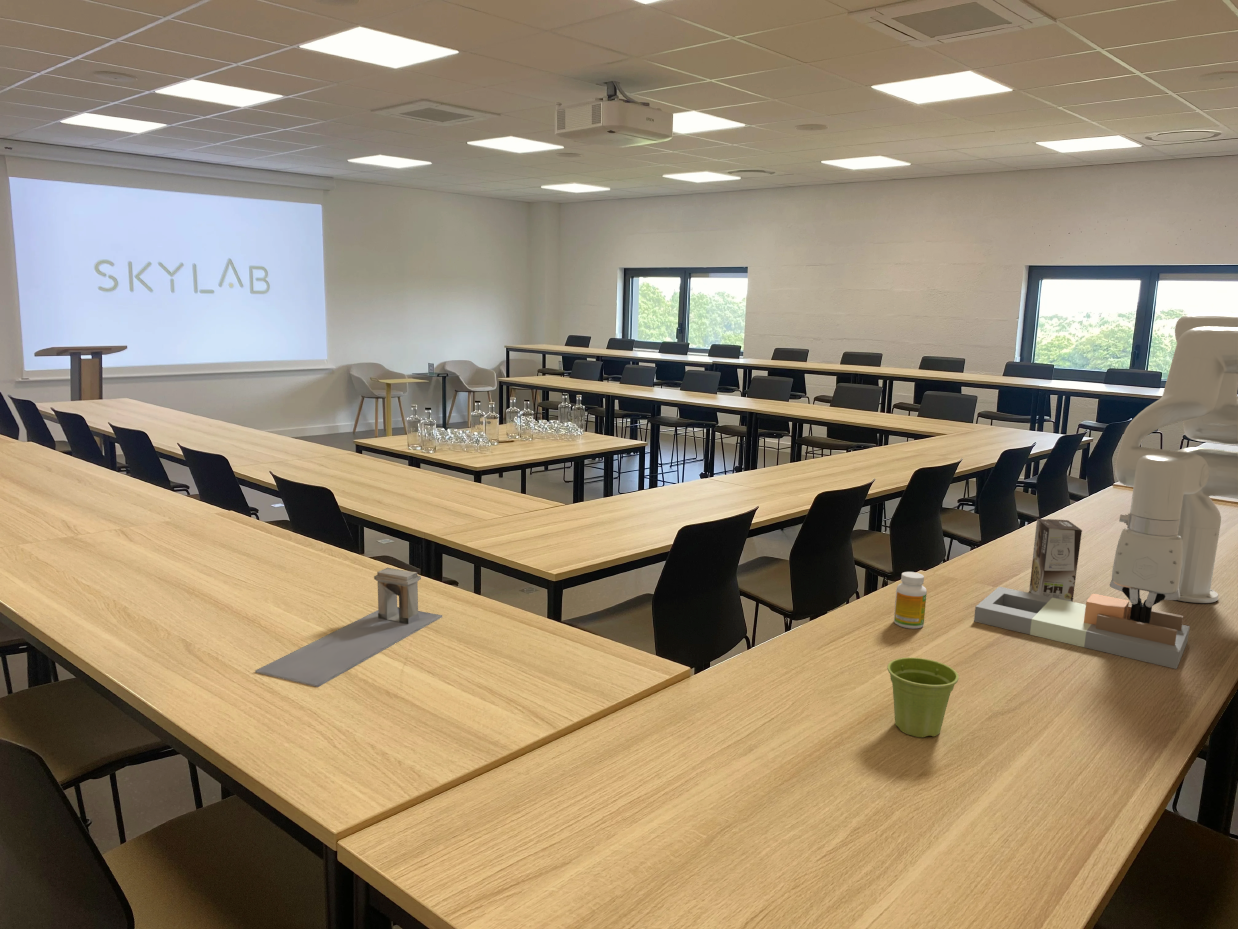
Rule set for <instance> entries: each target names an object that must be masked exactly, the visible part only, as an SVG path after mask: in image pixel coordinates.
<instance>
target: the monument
mask: <svg viewBox="0 0 1238 929" xmlns="http://www.w3.org/2000/svg"><path fill="white" fill-rule="evenodd" d="M421 578H422V577H421V575H418V572H416V571H411V570H404V569H399V568H392V567H385V568H384V569H381V570H379V571H377V573H376V574H375V575H374V576H373V580H375V581H377V605H378V606H377V607H378V609H377V610H375V611H373V612H371V613H369V614H367V615H365V616H364V617H361V618H359V619H357V620H355V621H353V622H350V623H349V624H346V625H345V626H342V627H341V628H338V629H337V630H335V631H333V632H330V633H328V634H327V635H325V636H322V637H321V638H318V639H316V640H314V641H312V642H310V643H308V644H306V645H304V646H302V647H299V649H295V650H294V651H291V652H290V653H288V654H286V655H284V656H281V657H279V658H278V659H275V660H273V661H272V662H269V663H268V664H265V665H263V666H261V667H260V668H257V669H255V670H254V672H255V673H258V674H260V675H265V676H268V677H269V676H270V677H272V678H273V677H274V678H277V679H278V678H279V679H282V680H285V681H286V680H287V681H289V682H294V683H299V684H304V685H307V686H312V687H316V688H319V687H322V686H323V685H324V684H326V683H328V682H330V681H332V680H333V679H335V678H337V677H339V676H340V675H342V674H344V673H346V672H348V671H349V670H351V669H353V668H355V667H357V666H358V665H359V664H360V665H361V664H362V663H363V662H365V661H367V660H369V659H370V658H372V657H374V656H376V655H378V654H380V653H381V652H383V651H384V650H386V649H388V648H390V647H392V646H394V645H395V643H396V644H398V643H399V642H401V641H403V640H404V639H406V638H408V637H409V636H411V635H414V634H415V633H417V632H418V631H421V630H422V629H424V628H425V627H428V626H429V625H431V624H432V623H434V622H437V621H438V620H440V619H442V618H443V614H437V613H432V612H427V611H426V612H425V611H421V610H419V593H418V592H419V591H418V590H419V589H418V588H419V587H418V582H419V581H420V580H421Z"/></svg>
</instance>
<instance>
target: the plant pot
mask: <svg viewBox="0 0 1238 929" xmlns="http://www.w3.org/2000/svg"><path fill="white" fill-rule="evenodd" d="M886 670H887V672H888V673H889V676H890V681H891V683H892V684H891V685H892V696H893V697H892V698H893V711H894V712H893V713H894V723H895V727H898V729H899V730H900V731H901V732H903V733H904V734H906V735H909V736H912V737H916V738H925V737H928V736H932V737H933V738H934V737H936V736H938V735H939V734H940V733H941V730H942V726H943V724H944V723H943V722H944V718H945V715H946V711H947V710H946V709H947V706H948V703H949V699H950V695H951V693H952V691H953V690H954V687H955V685H956V684H957V683H958V681H959V678H960V677H959V673H958V672H957V671H956V670H955V669H954V668H953V667H951V666H949V665H948V664H945V663H942V662H940V661H937V660H932V659H930V658H929V659H928V658H922V657H910V656H909V657H900V658H896V659H893V660H891V661H889V663H888V664H887V667H886Z"/></svg>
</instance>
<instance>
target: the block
mask: <svg viewBox="0 0 1238 929" xmlns="http://www.w3.org/2000/svg"><path fill="white" fill-rule="evenodd" d="M1129 603H1130V600H1129V599H1123V598H1118V597H1117V598H1116V597H1113V596H1108V595H1102V594H1099V593H1098V594H1097V593H1091V594H1090V596H1089V597H1088V598H1087V600H1086V601H1085V605H1086V608H1085V616H1084V623H1089V624H1093V625H1096V622H1097V615H1098V614H1104V615H1109V616H1113V617H1118V618H1123V619H1127V613H1128V606H1129V605H1130V604H1129Z"/></svg>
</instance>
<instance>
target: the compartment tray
mask: <svg viewBox="0 0 1238 929" xmlns="http://www.w3.org/2000/svg"><path fill="white" fill-rule="evenodd" d="M1131 606H1132V604H1129V606H1128V613H1127V619H1123V618H1118V617H1113V616H1109V615H1104V614H1098V615H1097V622H1096V625H1093V624H1089V623H1084V616H1085V608H1086V603H1080V602H1076V601H1075V602H1074V601H1073V602H1071V601H1066V600H1061V599H1056V598H1052V597H1047V596H1042V595H1037V594H1032V593H1031V592H1027V591H1022V590H1017V589H1012V588H1007V587H1003V586H998V587H997V588H995V589H994V590H993V591H992V592H991V593H990V594H988V595H987V596H986V597H984V599H982V600H981V601H980V602H978V603H977V605H975V608H974V617H973V622H974V623H975V622H976V623H980V624H983V625H988V626H992V627H996V628H1001V629H1006V630H1009V631H1013V632H1019V633H1022V634H1027V635H1030V636H1035V637H1039V638H1043V639H1048V640H1052V641H1056V642H1059V643H1065V644H1069V645H1073V646H1077V647H1081V648H1086V649H1089V650H1094V651H1097V652H1098V651H1099V652H1103V653H1107V654H1109V655H1110V654H1112V655H1115V656H1120V657H1124V658H1128V659H1132V660H1136V661H1140V662H1146V663H1149V664H1153V665H1158V666H1163V667H1166V668H1170V669H1174V670H1177V669H1178V667H1179V664H1180V662H1181V660H1182V656H1183V654H1184V652H1185V649H1186V647H1187V644H1188V641H1189V635H1190V628H1191V626H1189V625H1185V624H1183V621H1184V615H1180V614H1175V613H1171V612H1165V611H1163V610H1162V611H1161V610H1157V609H1152V611H1151V618H1150V623H1142V622H1137V621H1134V620H1131V619H1130V614H1131Z"/></svg>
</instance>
